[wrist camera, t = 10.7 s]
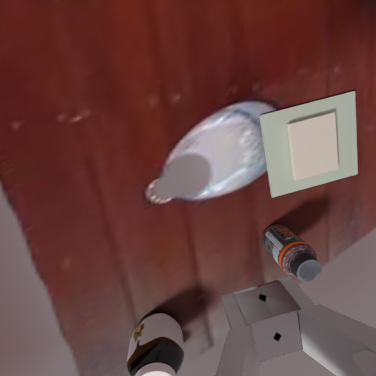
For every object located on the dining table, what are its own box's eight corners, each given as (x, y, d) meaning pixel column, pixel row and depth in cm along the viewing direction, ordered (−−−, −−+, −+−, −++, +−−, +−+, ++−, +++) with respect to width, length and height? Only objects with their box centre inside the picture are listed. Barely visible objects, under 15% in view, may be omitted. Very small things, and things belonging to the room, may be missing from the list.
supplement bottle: (291, 223, 44) (333, 254, 34) (285, 250, 46) (323, 288, 35) (263, 221, 44) (296, 253, 33) (257, 249, 45) (287, 288, 34)
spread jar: (162, 300, 46) (162, 356, 35) (197, 331, 49) (207, 392, 38) (119, 335, 47) (105, 400, 36) (155, 363, 50) (153, 431, 39)
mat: (259, 115, 38) (260, 115, 38) (352, 91, 39) (355, 90, 38) (271, 196, 42) (272, 197, 42) (355, 173, 43) (357, 174, 43)
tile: (290, 124, 37) (335, 112, 38) (286, 124, 39) (329, 112, 39) (296, 180, 40) (338, 168, 41) (292, 179, 41) (333, 167, 42)
